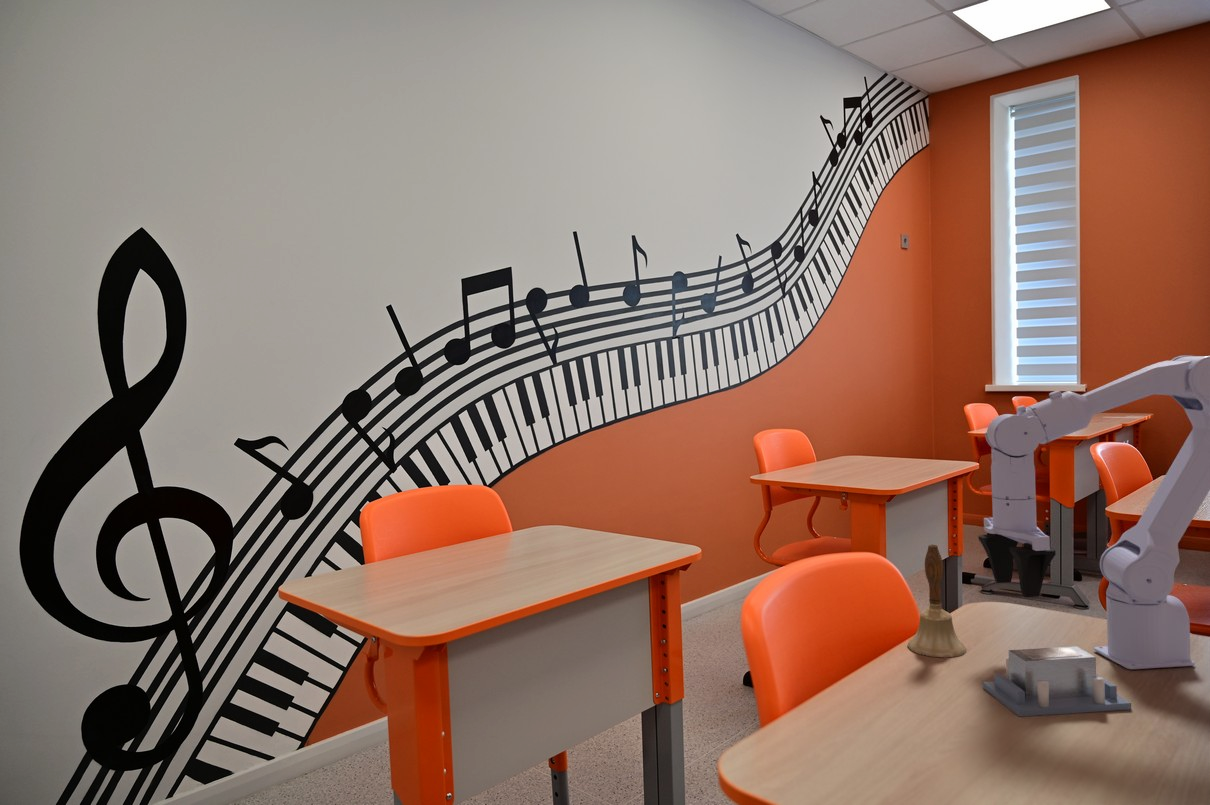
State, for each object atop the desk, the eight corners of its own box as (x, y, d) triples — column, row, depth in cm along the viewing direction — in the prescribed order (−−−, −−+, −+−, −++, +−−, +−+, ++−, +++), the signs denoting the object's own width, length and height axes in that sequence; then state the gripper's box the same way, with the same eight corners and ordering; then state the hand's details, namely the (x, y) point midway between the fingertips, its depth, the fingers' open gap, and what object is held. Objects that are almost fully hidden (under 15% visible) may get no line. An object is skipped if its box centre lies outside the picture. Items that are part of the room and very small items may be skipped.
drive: (1077, 683, 106) (1076, 645, 106) (1096, 696, 102) (1095, 656, 102) (1009, 687, 106) (1008, 649, 106) (1026, 700, 102) (1024, 660, 102)
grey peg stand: (1086, 681, 109) (1085, 653, 109) (1131, 709, 100) (1130, 679, 100) (983, 687, 109) (982, 659, 108) (1019, 716, 100) (1018, 686, 99)
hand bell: (975, 656, 120) (972, 549, 119) (919, 659, 120) (915, 552, 119) (953, 638, 128) (949, 537, 127) (900, 640, 128) (896, 540, 128)
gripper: (963, 490, 125) (966, 577, 126) (1012, 506, 111) (1015, 604, 112) (1008, 488, 126) (1011, 575, 126) (1063, 503, 111) (1066, 601, 112)
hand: (1016, 588), depth 119 cm, fingers open, 7 cm apart
